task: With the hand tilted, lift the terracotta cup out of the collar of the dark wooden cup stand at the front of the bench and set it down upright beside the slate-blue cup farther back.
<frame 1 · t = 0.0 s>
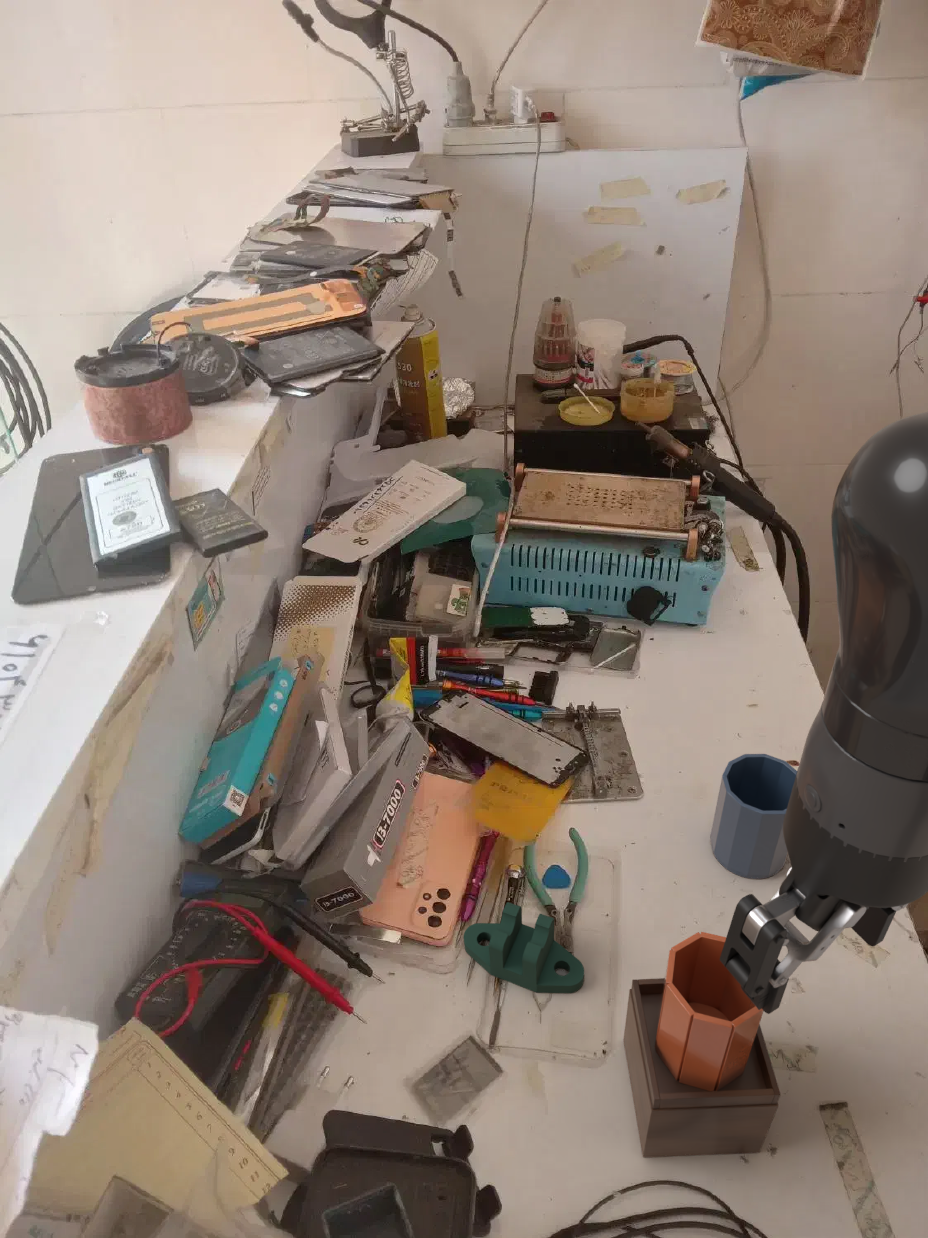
hand: (812, 964, 50), 19 cm above the workbench, tool pointing down, fingers open, 8 cm apart
slate cup: (748, 848, 80), on the workbench
mount: (522, 962, 72), on the workbench
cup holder: (687, 1093, 63), on the workbench
terracotta cup: (699, 1044, 58), point 8 cm above the workbench, touching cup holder
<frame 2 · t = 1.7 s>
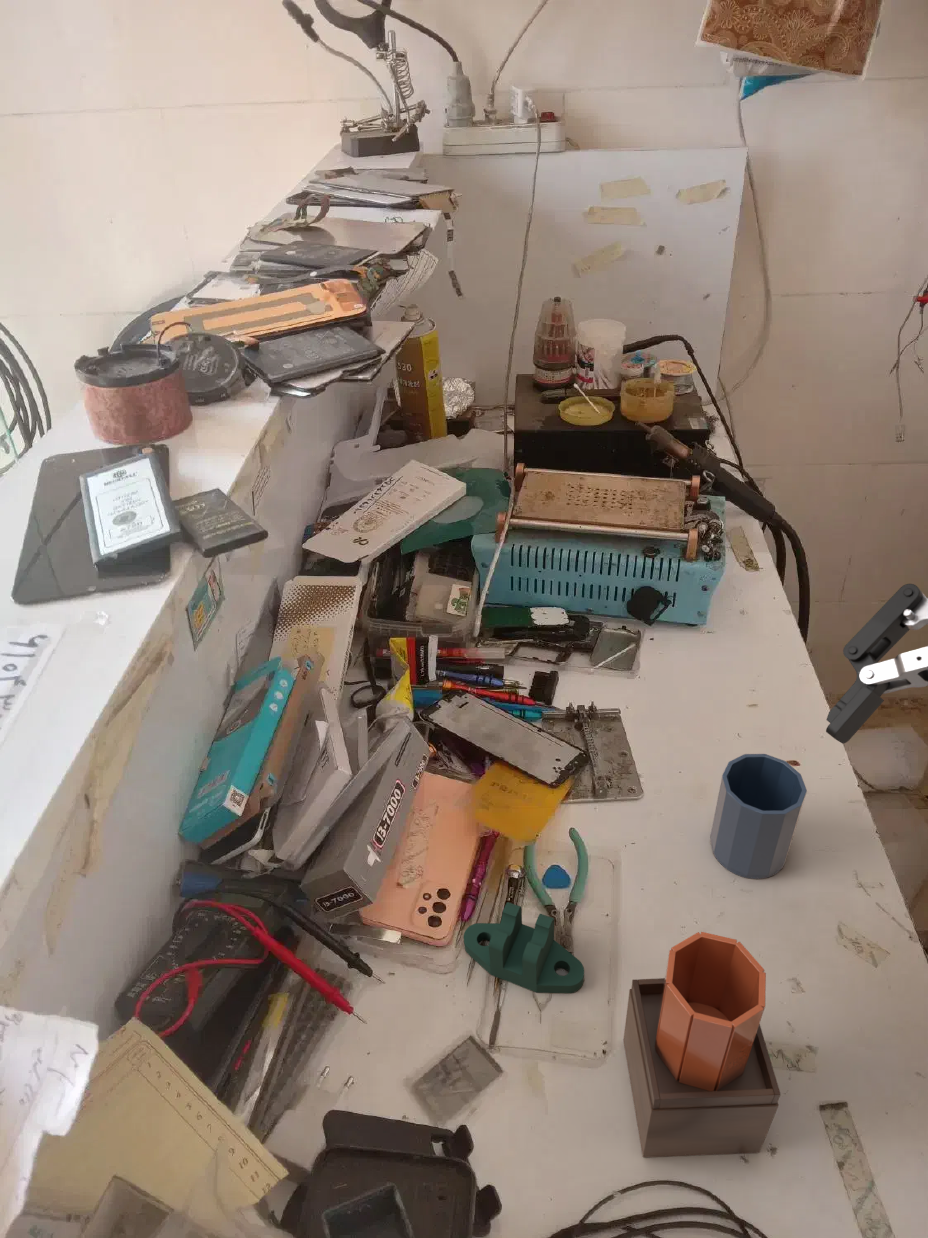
hand: (891, 783, 49), 29 cm above the workbench, tool tilted 45°, fingers open, 8 cm apart
nothing on the workbench moved.
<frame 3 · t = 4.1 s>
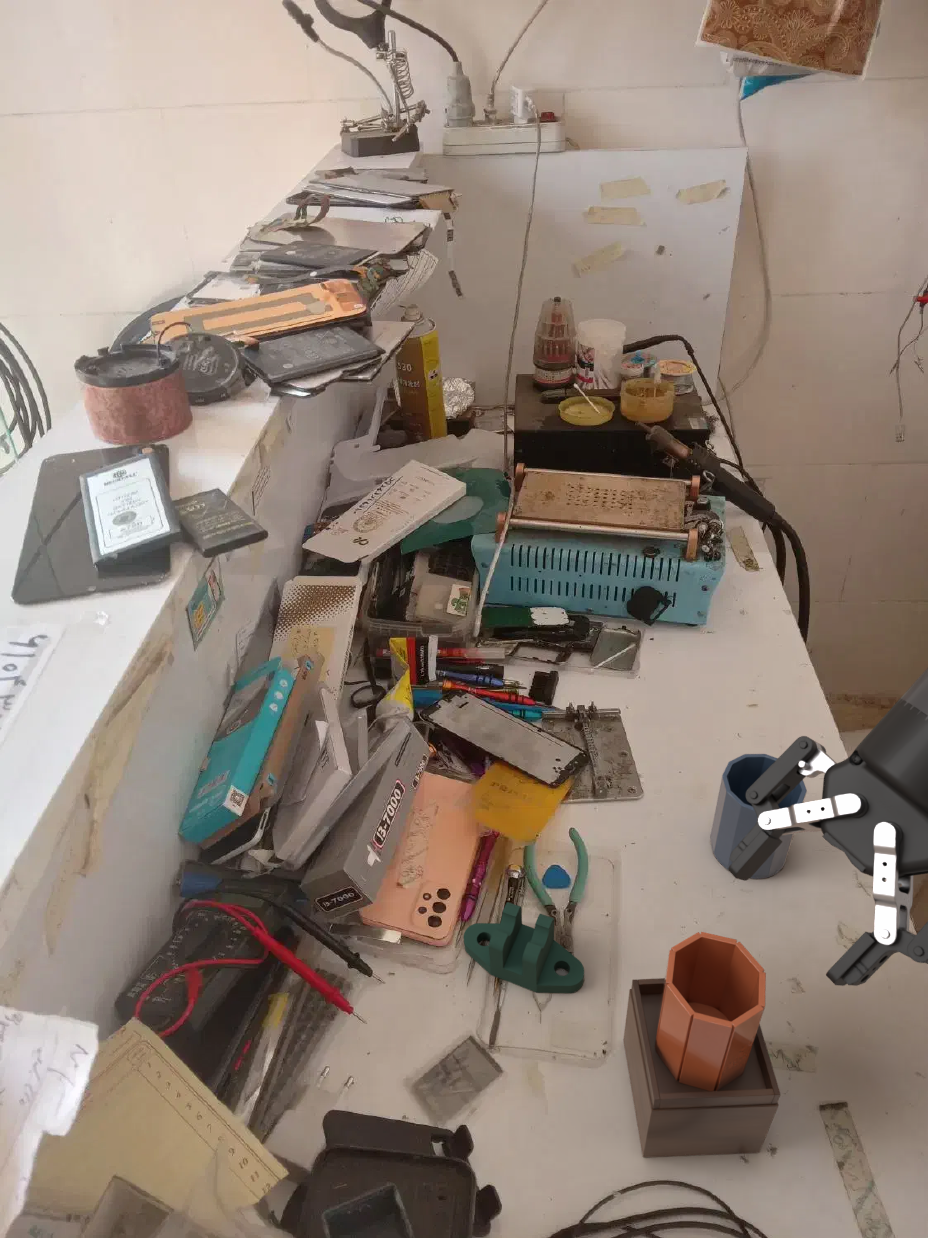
hand: (783, 925, 53), 19 cm above the workbench, tool tilted 45°, fingers open, 8 cm apart
nothing on the workbench moved.
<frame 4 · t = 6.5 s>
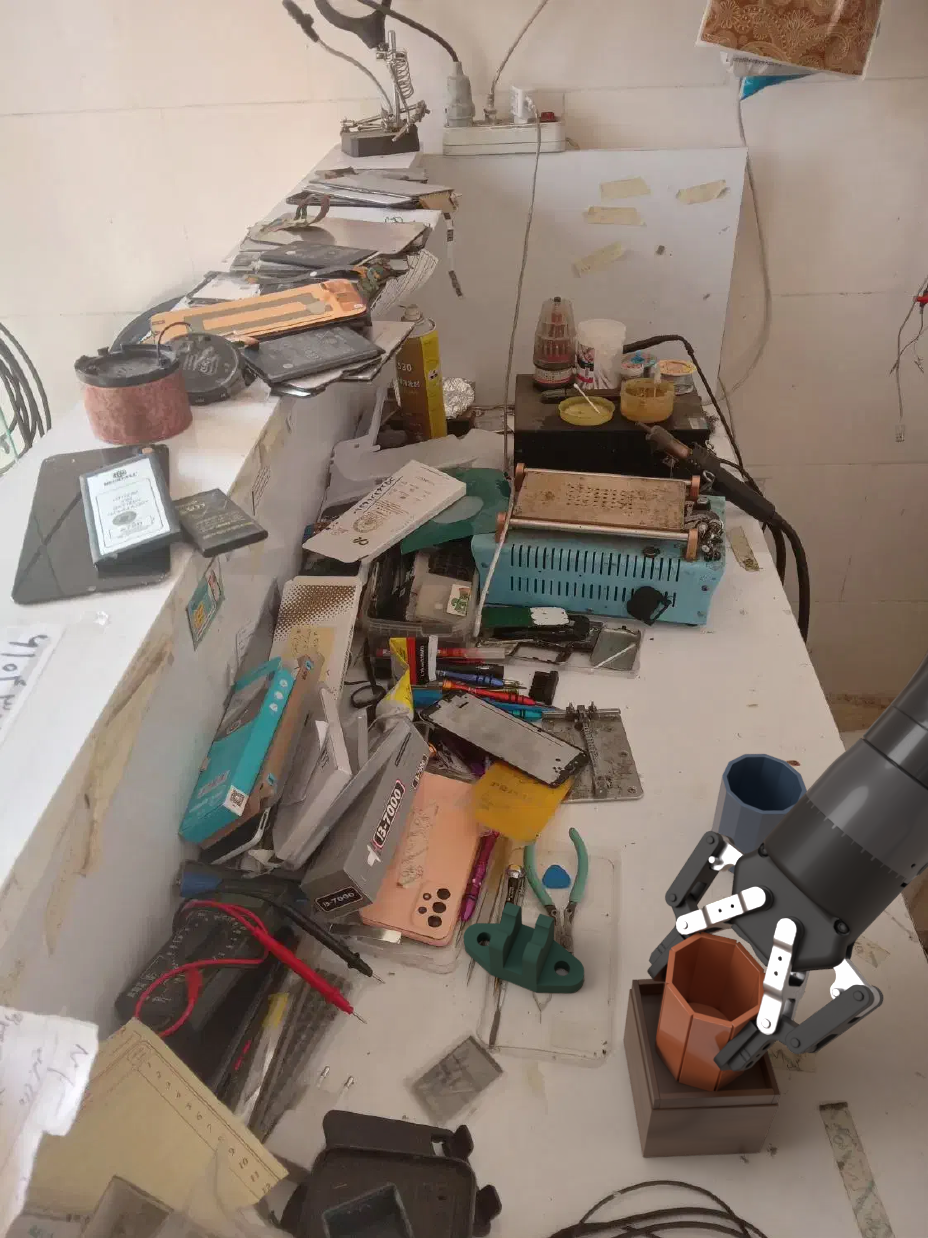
hand: (688, 1019, 54), 13 cm above the workbench, tool tilted 45°, fingers closed on terracotta cup, 6 cm apart
terracotta cup: (699, 1044, 58), point 8 cm above the workbench, touching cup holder, gripper
everything else where it was.
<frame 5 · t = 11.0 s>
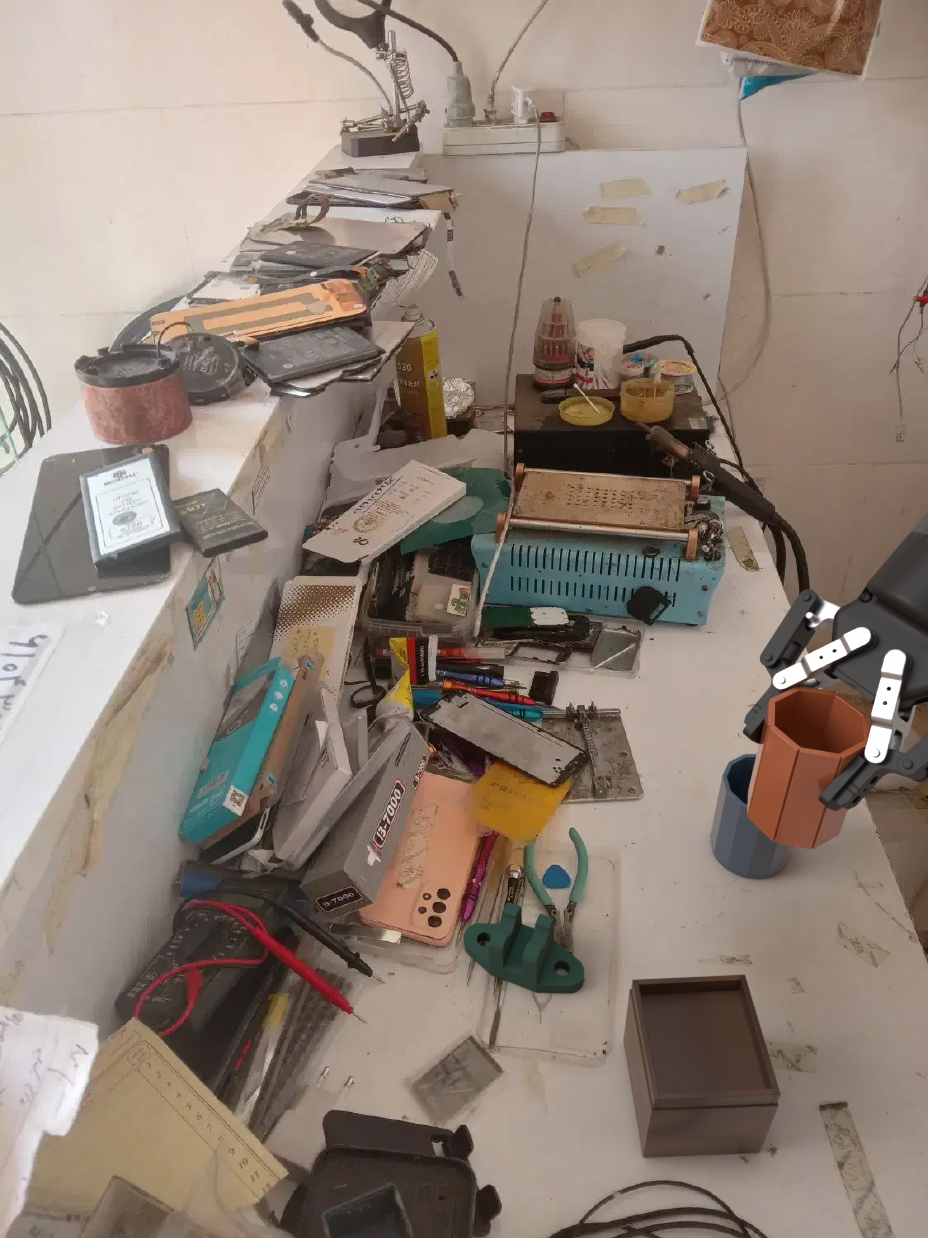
hand: (788, 770, 53), 26 cm above the workbench, tool tilted 45°, fingers closed on terracotta cup, 6 cm apart
terracotta cup: (792, 811, 57), point 21 cm above the workbench, touching gripper
everything else where it was.
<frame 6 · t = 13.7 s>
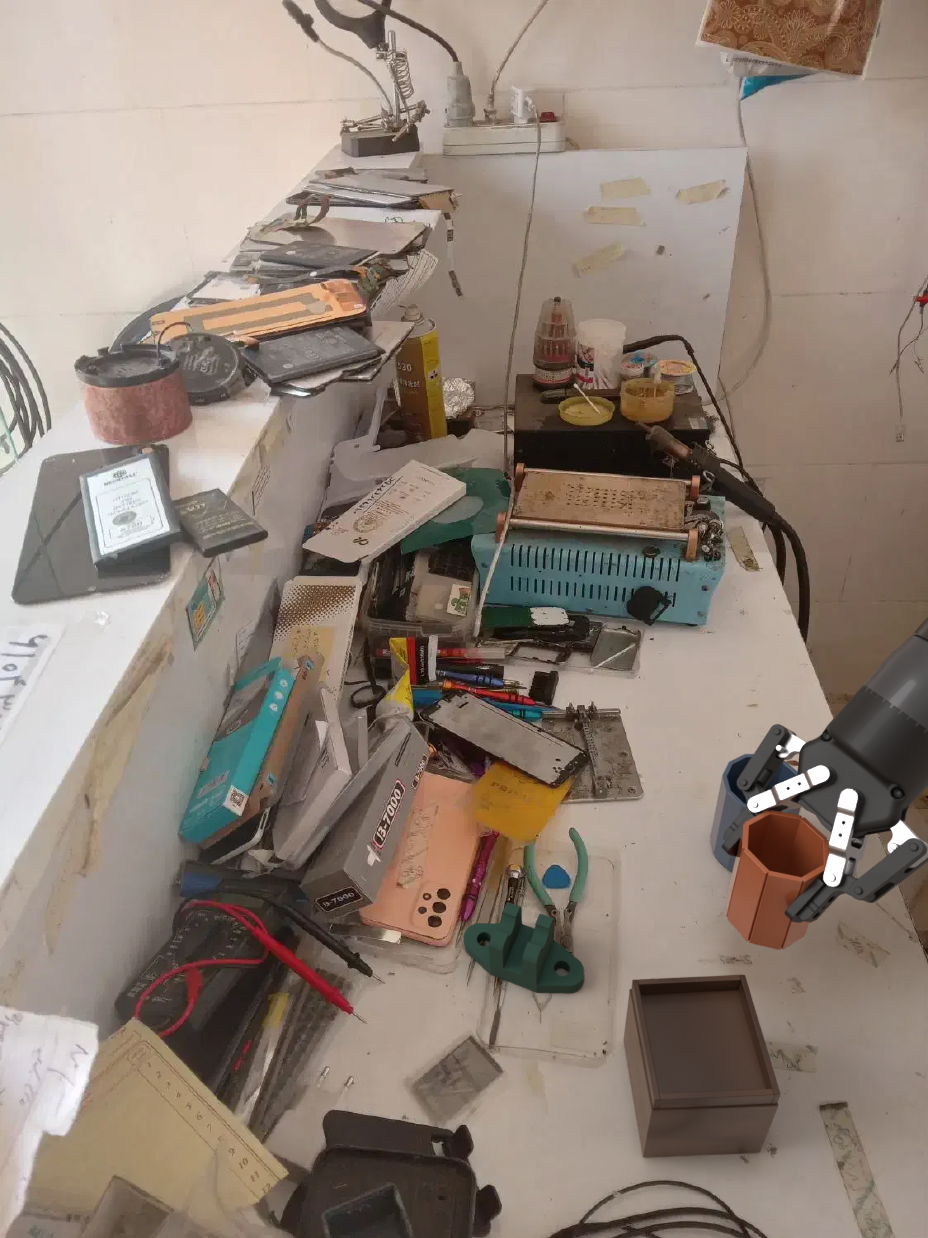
hand: (760, 884, 62), 13 cm above the workbench, tool tilted 45°, fingers closed on terracotta cup, 6 cm apart
terracotta cup: (765, 913, 66), point 7 cm above the workbench, touching gripper
everything else where it was.
when the fingers open (5 cm above the workbench, at t = 16.0 s): terracotta cup stays where it is, on the workbench.
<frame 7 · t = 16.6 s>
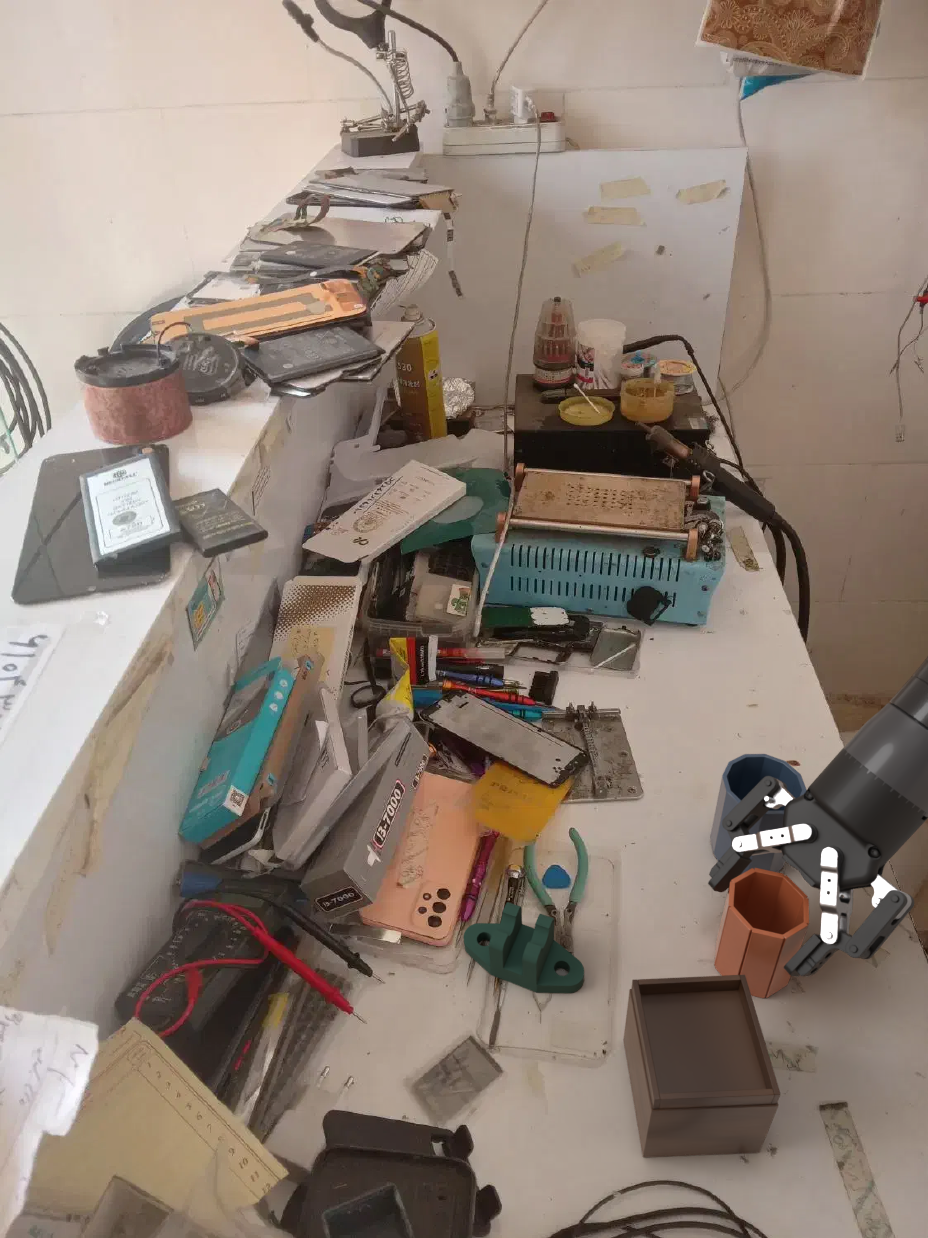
hand: (751, 929, 66), 6 cm above the workbench, tool tilted 45°, fingers open, 8 cm apart
terracotta cup: (751, 962, 70), on the workbench
everything else where it was.
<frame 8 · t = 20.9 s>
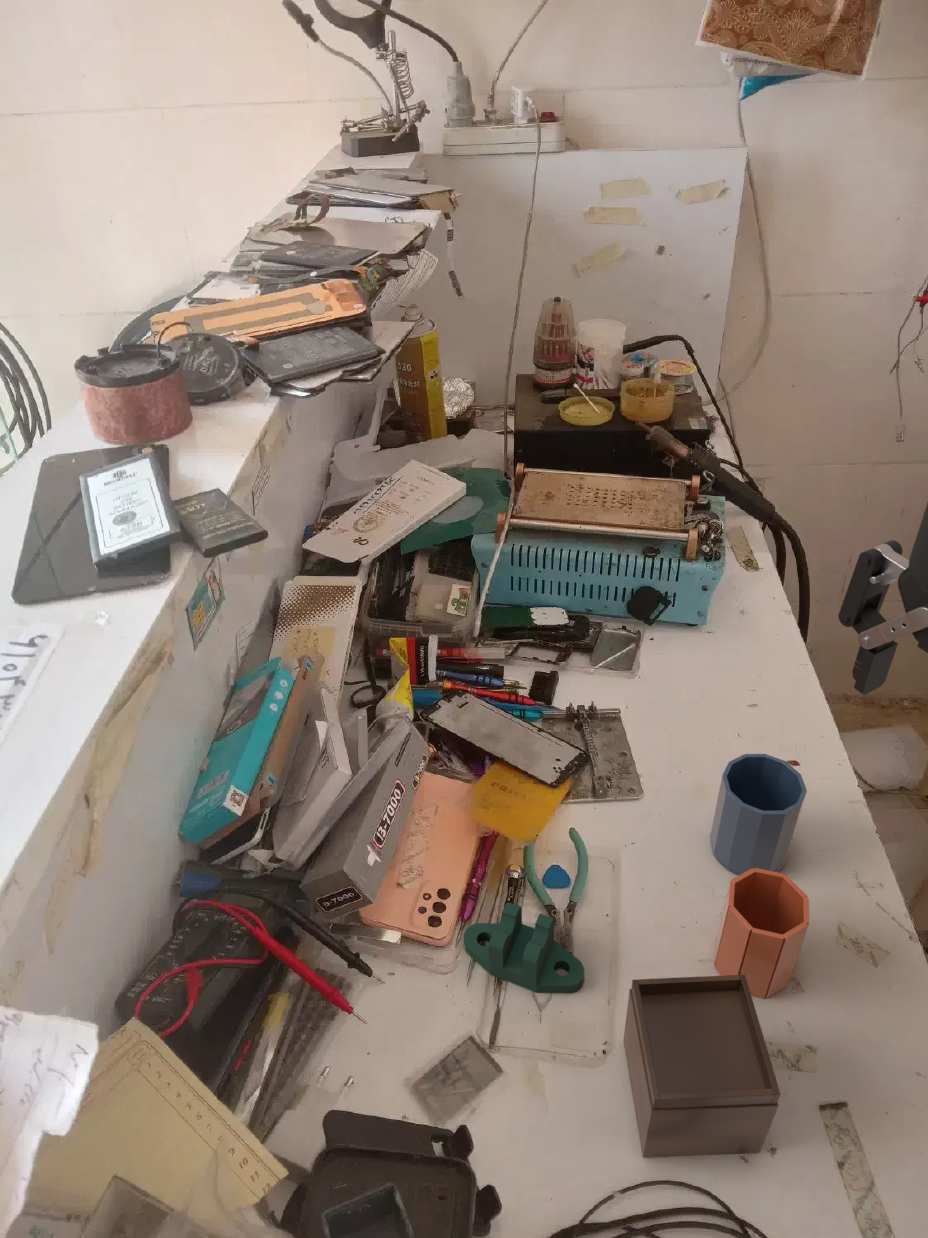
hand: (922, 726, 53), 28 cm above the workbench, tool pointing down, fingers open, 8 cm apart
nothing on the workbench moved.
at the end: terracotta cup inside the target area on the workbench beside the slate cup (0.1 cm from its centre), on the workbench; terracotta cup tilted 0°; slate cup moved 0.0 cm from its start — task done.
